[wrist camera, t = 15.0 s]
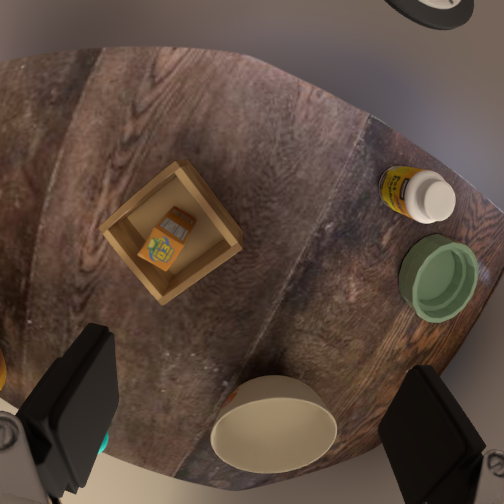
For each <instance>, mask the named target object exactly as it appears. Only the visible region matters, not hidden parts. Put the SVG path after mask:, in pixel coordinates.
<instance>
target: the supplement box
mask: <svg viewBox="0 0 504 504" xmlns="http://www.w3.org/2000/svg"><path fill="white" fill-rule="evenodd" d="M195 222H196V220H195V219H193V218H192V217H190V216H189V215H187V214H186V213H184V212H183V211H181V210H180V209H178V208H177V207H175V206H173V207H172V208H171V209H170V210H169V211H168V212H167V213H166V214H165V215H164V217H163V218H162V219H161V220H160V221H159V222H158V223H157V224H156V225H155V227H154V228H153V230H152V232H151V233H150V235H149V237H148V238H147V240H146V242H145V243H144V245H143V246H142V248H141V249H140V251H139V252H138V256H139V257H141V258H143V259H145V260H147V261H149V262H150V263H152V264H154V265H156V266H157V267H159V268H161V269H162V270H164V271H167V270H168V269H169V268H170V266H171V265H172V263H173V262H174V260H175V259H176V257H177V256H178V254H179V253H180V251H181V250H182V248H183V247H184V245H185V243H186V241H187V238H188V237H189V234H190V232H191V230H192V228H193V226H194V224H195Z"/></svg>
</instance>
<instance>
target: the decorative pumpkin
mask: <svg viewBox="0 0 504 504" xmlns="http://www.w3.org/2000/svg"><path fill="white" fill-rule="evenodd" d="M6 372H7V370H6V365H5V360H4V357H3V353H2V350H1V348H0V390H1V389H2V387H3V385H4V383H5V381H6Z"/></svg>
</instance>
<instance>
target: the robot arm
mask: <svg viewBox="0 0 504 504" xmlns="http://www.w3.org/2000/svg"><path fill="white" fill-rule="evenodd" d="M418 1H420V2H422V3H424V4H426V5H428V6H431V7H434V8H438V9H449V8H452V7H454V6H456V5H457V4H458V3H459V2H460V1H461V0H418ZM118 402H119V392H118V382H117V371H116V358H115V341H114V334H113V333H111V332H109V329H108V327H107V326H103V325H99V324H95V323H89V324H88V325H87V326H86V327H85V328H84V330H83V331H82V332H81V334H80V335H79V336H78V337H77V339H76V340H75V341H74V343H73V344H72V345H71V346H70V348H69V349H68V350H67V352H66V353H65V354H64V356H63V357H62V358H61V357H60V358H57V359H56V360H55V361H54V362H53V364H52V365H51V366H50V368H49V369H48V370H47V372H46V373H45V374H44V376H43V377H42V378H41V380H40V381H39V382H38V384H37V385H36V386H35V388H34V389H33V391H32V392H31V393H30V395H29V396H28V398H27V399H26V400H25V402H24V403H23V405H22V406H21V407H20V409H19V410H18V412H17V413H16V415H13V414H11V413H9V412H5V411H0V504H62V503H61V500H60V497H62V496H63V493H64V491H65V490H66V491H68V492H71V493H74V494H76V493H77V490H78V488H79V487H81V488H83V487H84V486H85V485H86V483H87V480H88V477H89V475H90V472H91V470H92V467H93V464H94V462H95V460H96V457H97V455H98V452H99V450H100V447H101V445H102V442H103V440H104V437H105V435H106V433H107V430H108V428H109V425H110V423H111V421H112V418H113V416H114V414H115V411H116V409H117V406H118ZM378 433H379V436H380V439H381V441H382V444H383V446H384V449H385V451H386V454H387V456H388V459H389V461H390V464H391V467H392V469H393V472H394V475H395V477H396V480H397V483H398V485H399V488H400V491H401V493H402V496H403V499H404V501H405V504H504V452H503V451H501V450H497V449H492V450H489V451H487V452H486V454H485V455H484V456H483V455H482V453H481V452H482V451H483V450H484V449H485V447H486V444H485V443H484V441H483V440H482V438H481V437H480V435H479V434H478V432H477V431H476V429H475V427H474V426H473V425H472V423H471V422H470V420H469V418H468V417H467V416H466V414H465V413H464V411H463V410H462V408H461V407H460V405H459V404H458V402H457V401H456V399H454V396H453V395H452V394H451V392H450V391H449V389H448V388H447V387H446V385H445V384H444V382H443V381H442V380H441V378H440V377H439V375H438V374H437V373H436V371H435V370H434V368H433V367H432V366H430V365H415V366H414V367H413V368H412V369H411V370H409V371H408V373H407V374H406V376H405V378H404V380H403V382H402V384H401V386H400V388H399V390H398V392H397V394H396V395H395V397H394V399H393V401H392V403H391V404H390V406H389V408H388V410H387V412H386V413H385V415H384V417H383V418H382V420H381V422H380V424H379V426H378Z"/></svg>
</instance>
